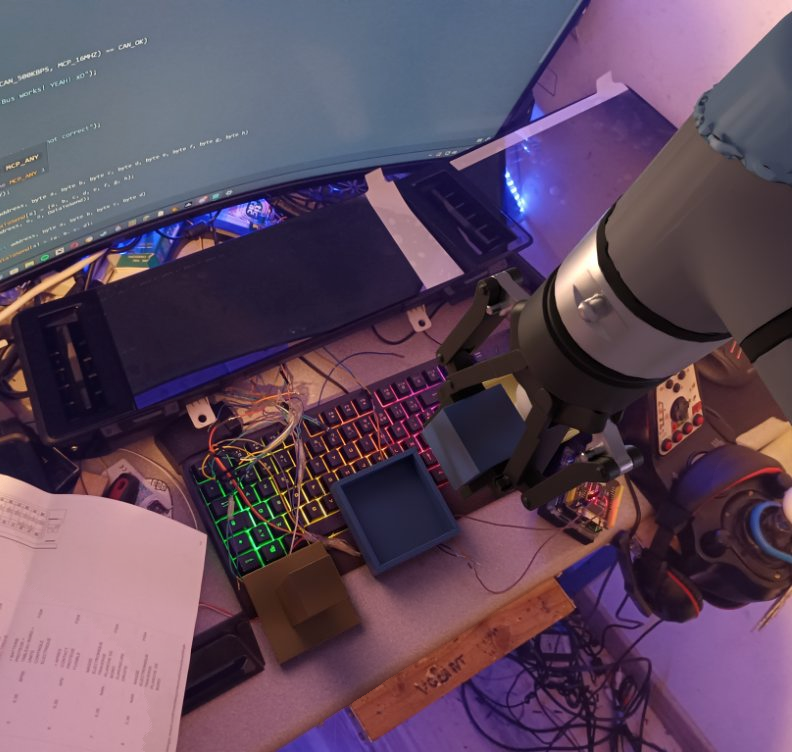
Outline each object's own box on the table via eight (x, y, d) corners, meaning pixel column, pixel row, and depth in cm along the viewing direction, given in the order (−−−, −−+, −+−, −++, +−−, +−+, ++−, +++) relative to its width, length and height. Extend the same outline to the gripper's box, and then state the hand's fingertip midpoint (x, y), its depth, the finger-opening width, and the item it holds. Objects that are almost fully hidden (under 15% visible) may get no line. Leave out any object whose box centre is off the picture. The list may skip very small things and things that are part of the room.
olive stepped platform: (358, 623, 72) (389, 611, 61) (278, 664, 70) (295, 660, 59) (319, 541, 75) (341, 516, 64) (241, 578, 73) (250, 558, 62)
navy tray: (453, 536, 77) (462, 532, 75) (372, 577, 74) (378, 573, 72) (408, 453, 80) (414, 446, 78) (328, 489, 78) (332, 483, 75)
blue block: (509, 464, 54) (539, 444, 49) (454, 491, 52) (479, 472, 48) (475, 407, 55) (500, 382, 51) (420, 432, 54) (442, 408, 49)
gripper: (462, 189, 36) (361, 374, 57) (677, 514, 31) (477, 585, 52) (578, 150, 38) (439, 342, 59) (798, 447, 33) (558, 541, 54)
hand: (457, 455), depth 56 cm, fingers closed on blue block, 5 cm apart
